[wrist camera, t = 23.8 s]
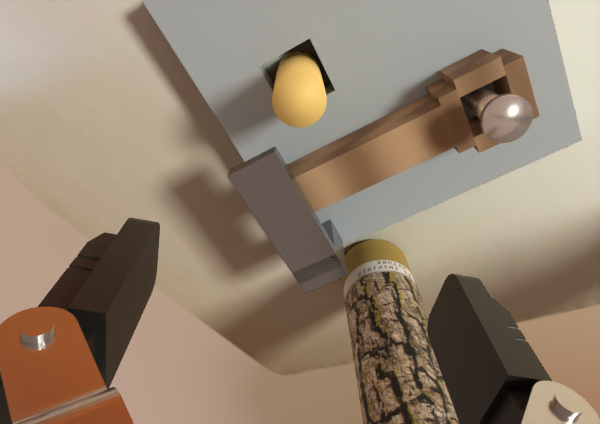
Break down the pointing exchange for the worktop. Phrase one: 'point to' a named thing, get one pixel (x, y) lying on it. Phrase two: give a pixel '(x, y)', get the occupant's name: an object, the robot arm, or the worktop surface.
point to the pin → (299, 90)
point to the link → (412, 130)
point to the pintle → (499, 114)
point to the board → (369, 83)
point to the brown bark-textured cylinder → (392, 340)
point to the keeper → (290, 220)
